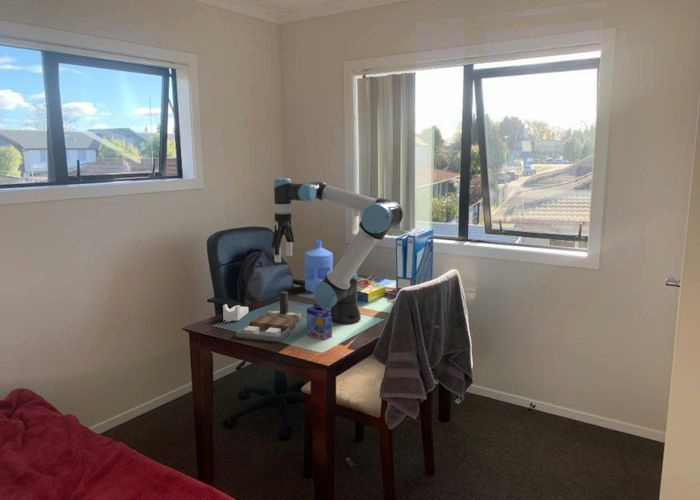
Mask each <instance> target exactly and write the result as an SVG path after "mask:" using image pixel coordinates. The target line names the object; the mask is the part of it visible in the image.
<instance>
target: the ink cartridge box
mask: <svg viewBox="0 0 700 500" xmlns="http://www.w3.org/2000/svg"><path fill="white" fill-rule="evenodd" d="M332 324H333V322H332V310H330V308H325V307H322V306H320V305H319V304H314V303H313V306H311V307H307V308H306V334H307V335H306V336H308V337H311V338H315V339H320V340H322V341H325V340H328V339H330V338H332V337H333V328H332V326H333V325H332Z"/></svg>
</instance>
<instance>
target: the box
mask: <svg viewBox="0 0 700 500" xmlns="http://www.w3.org/2000/svg"><path fill="white" fill-rule="evenodd" d="M248 326H250V323H247V324H245V325H244V326H243V327H241V328H240V329H238V330H236V331H235V338H237V339H244V340H253V341H262V342H269V343H270V342H271V343H277V342H278V344H279V343H281V342H283V341H284V340H285V339H286V338H287V337H289V336H290V335H291V331H290V328H287V329H286V330H285V331H284V332H281V334H280V335H279V336H274V335H265V331H266V330H263V329H259V333H258V334H257V333H248V332H243V329H245V328H246V327H248Z"/></svg>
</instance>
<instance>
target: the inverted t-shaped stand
mask: <svg viewBox="0 0 700 500" xmlns="http://www.w3.org/2000/svg"><path fill="white" fill-rule="evenodd" d="M266 316H267V317H277V318H286V319H295V322H300V321H302V313H300V312H289V291H282V290H281V291H280V292H279V310H269V311H267V312H266Z"/></svg>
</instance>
